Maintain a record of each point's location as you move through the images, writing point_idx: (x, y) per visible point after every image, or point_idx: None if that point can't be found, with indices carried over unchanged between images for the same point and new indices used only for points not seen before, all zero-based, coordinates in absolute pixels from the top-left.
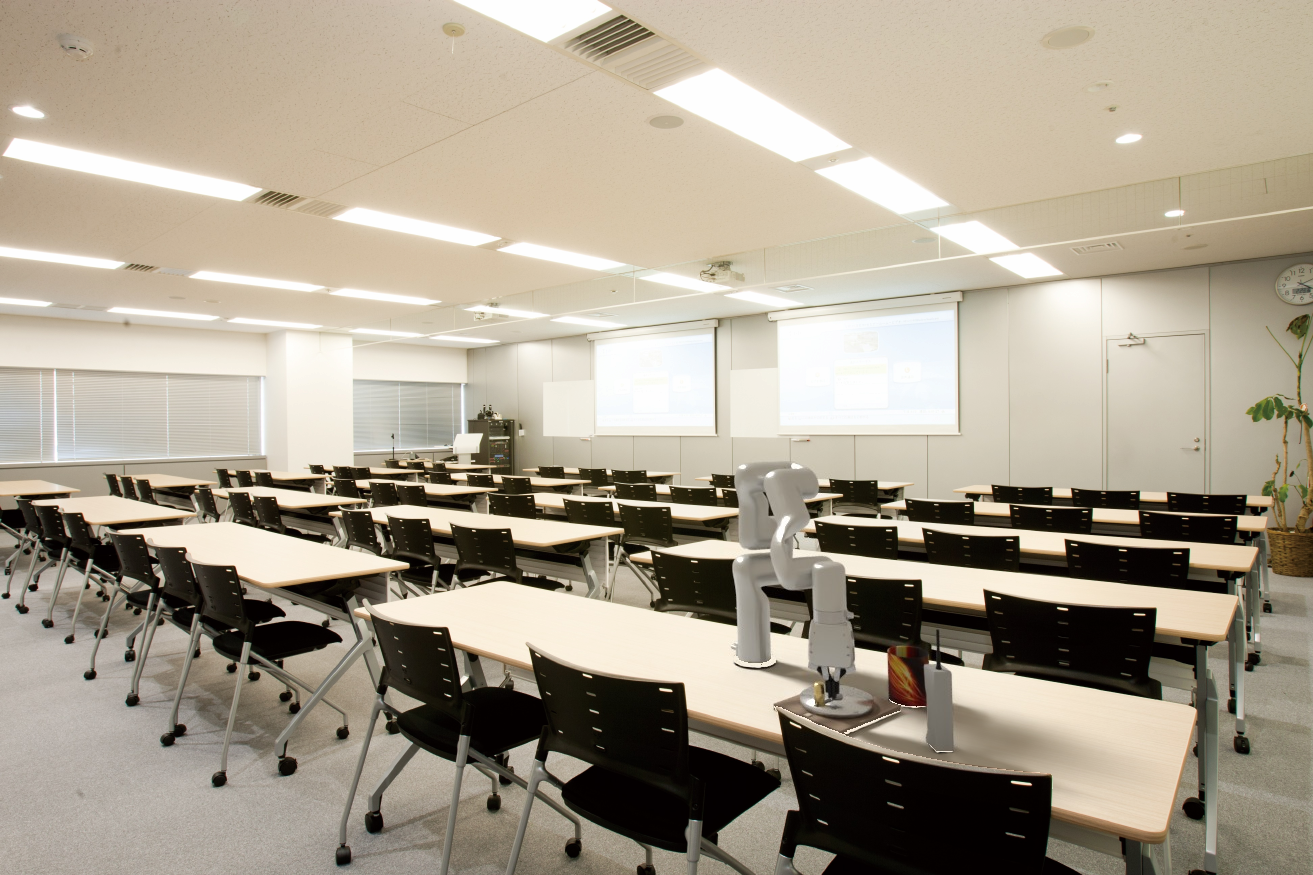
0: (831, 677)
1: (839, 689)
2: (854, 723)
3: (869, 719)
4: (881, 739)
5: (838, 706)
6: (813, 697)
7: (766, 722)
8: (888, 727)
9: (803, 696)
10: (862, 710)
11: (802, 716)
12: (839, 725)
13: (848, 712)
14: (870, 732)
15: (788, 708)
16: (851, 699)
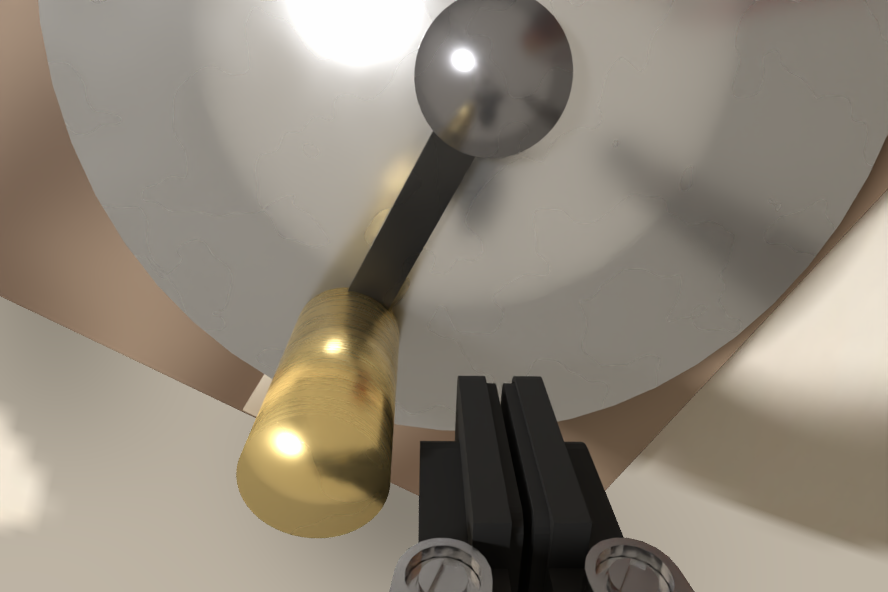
0: (508, 560)
1: (588, 456)
2: (642, 425)
3: (765, 313)
4: (785, 470)
5: (528, 320)
6: (238, 157)
7: (6, 455)
8: (877, 286)
9: (121, 160)
10: (744, 321)
11: (236, 403)
12: None
13: (616, 396)
14: (730, 399)
15: (68, 306)
16: (663, 91)
